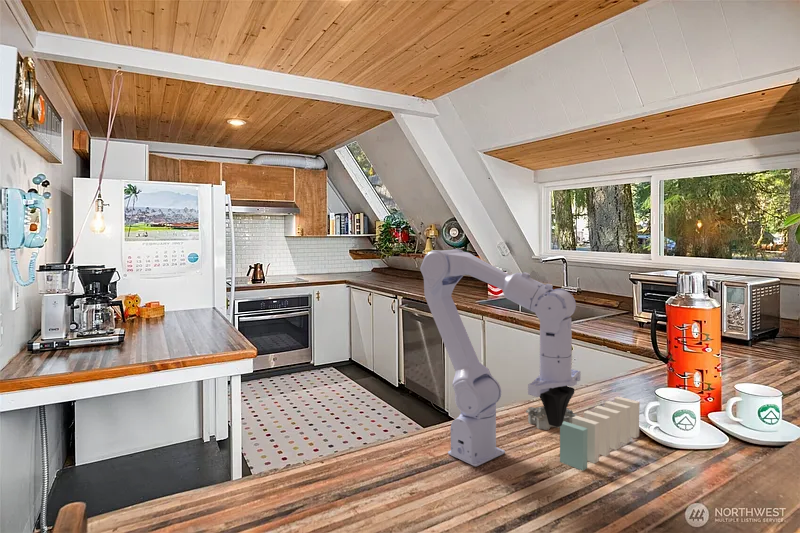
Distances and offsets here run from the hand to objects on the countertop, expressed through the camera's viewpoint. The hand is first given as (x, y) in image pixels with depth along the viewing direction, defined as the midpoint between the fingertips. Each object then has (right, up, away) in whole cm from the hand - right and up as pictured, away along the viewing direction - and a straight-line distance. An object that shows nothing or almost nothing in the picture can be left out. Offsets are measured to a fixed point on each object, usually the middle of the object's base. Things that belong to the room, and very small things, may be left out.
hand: (555, 424), depth 92 cm
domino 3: (+12, -9, +10) cm, 18 cm away
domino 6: (+22, -8, +19) cm, 31 cm away
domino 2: (+9, -9, +8) cm, 15 cm away
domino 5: (+19, -9, +16) cm, 26 cm away
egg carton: (+7, -9, +27) cm, 29 cm away
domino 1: (+5, -10, +5) cm, 12 cm away
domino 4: (+16, -9, +13) cm, 22 cm away
